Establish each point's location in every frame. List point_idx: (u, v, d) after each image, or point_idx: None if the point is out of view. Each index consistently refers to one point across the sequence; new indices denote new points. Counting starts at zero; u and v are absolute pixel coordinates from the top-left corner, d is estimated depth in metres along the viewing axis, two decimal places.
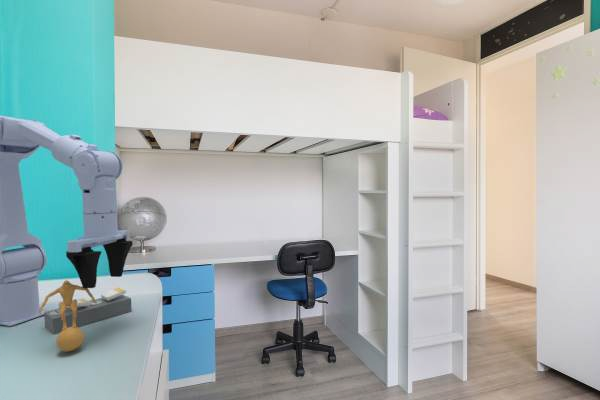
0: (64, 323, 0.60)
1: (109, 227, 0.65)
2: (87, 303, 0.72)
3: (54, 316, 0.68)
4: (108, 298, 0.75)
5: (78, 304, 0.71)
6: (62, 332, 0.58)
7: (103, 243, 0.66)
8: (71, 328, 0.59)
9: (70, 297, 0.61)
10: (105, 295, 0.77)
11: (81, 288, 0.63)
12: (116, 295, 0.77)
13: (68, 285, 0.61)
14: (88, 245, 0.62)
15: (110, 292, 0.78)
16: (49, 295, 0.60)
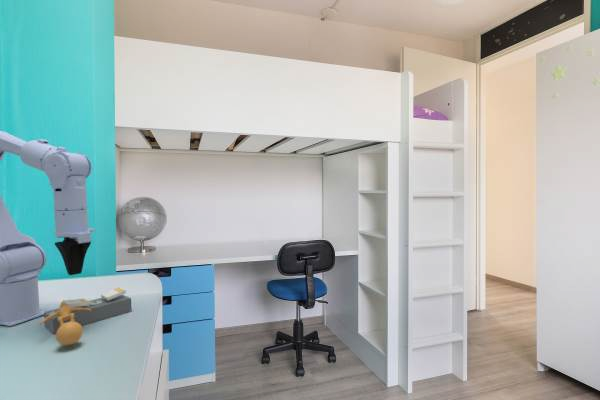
0: None
1: (87, 221, 0.73)
2: (87, 303, 0.72)
3: None
4: (108, 298, 0.75)
5: (78, 304, 0.71)
6: None
7: None
8: None
9: (67, 312, 0.66)
10: (105, 295, 0.77)
11: None
12: (116, 295, 0.77)
13: (65, 303, 0.68)
14: None
15: (110, 292, 0.78)
16: (48, 317, 0.65)
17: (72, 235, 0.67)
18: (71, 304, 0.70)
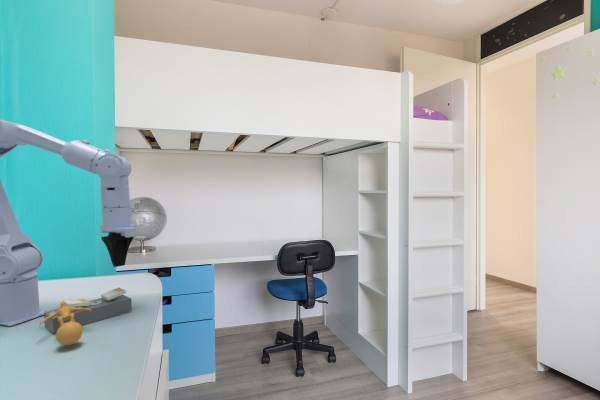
0: None
1: (130, 218, 0.79)
2: (87, 303, 0.72)
3: None
4: (108, 298, 0.75)
5: (78, 304, 0.71)
6: None
7: None
8: None
9: (67, 312, 0.66)
10: (105, 295, 0.77)
11: None
12: (116, 295, 0.77)
13: (65, 303, 0.68)
14: None
15: (110, 292, 0.78)
16: (48, 317, 0.65)
17: (119, 230, 0.74)
18: (71, 304, 0.70)
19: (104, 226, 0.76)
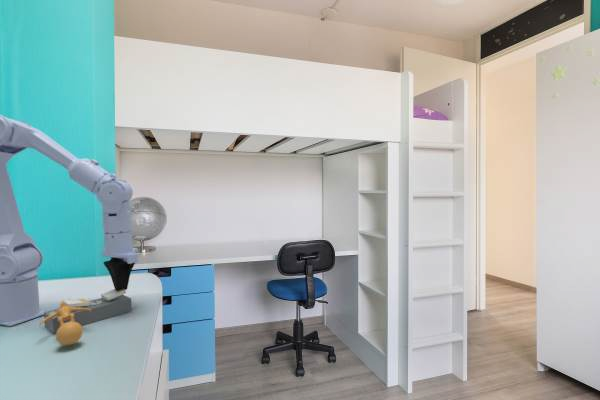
0: None
1: None
2: (87, 303, 0.72)
3: None
4: (108, 298, 0.75)
5: (78, 304, 0.71)
6: None
7: None
8: None
9: (67, 312, 0.66)
10: (105, 295, 0.77)
11: None
12: (116, 295, 0.77)
13: (65, 303, 0.68)
14: None
15: (110, 292, 0.78)
16: (48, 317, 0.65)
17: (122, 256, 0.74)
18: (71, 304, 0.70)
19: (106, 252, 0.76)
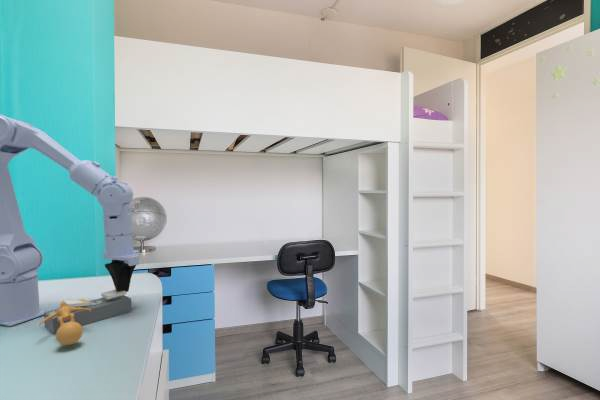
0: None
1: None
2: (87, 303, 0.72)
3: None
4: (108, 297, 0.75)
5: (78, 304, 0.71)
6: None
7: None
8: None
9: (67, 312, 0.66)
10: (105, 294, 0.77)
11: None
12: (116, 295, 0.77)
13: (65, 303, 0.68)
14: None
15: (110, 292, 0.78)
16: (48, 317, 0.65)
17: (123, 258, 0.75)
18: (71, 304, 0.70)
19: (107, 254, 0.76)
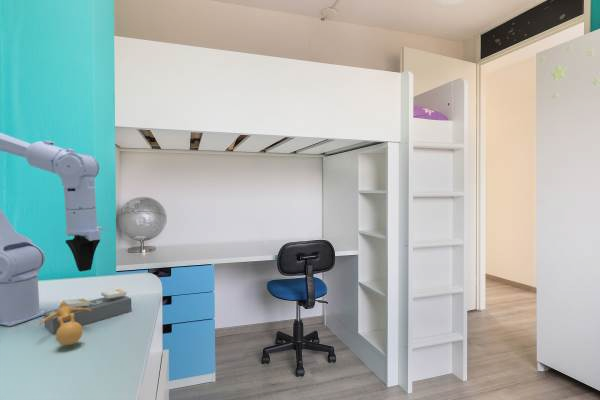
0: None
1: (96, 220, 0.76)
2: (87, 303, 0.72)
3: None
4: (108, 296, 0.75)
5: (78, 304, 0.71)
6: None
7: None
8: None
9: (67, 312, 0.66)
10: (106, 293, 0.77)
11: None
12: (116, 295, 0.77)
13: (65, 303, 0.68)
14: None
15: (111, 291, 0.78)
16: (48, 317, 0.65)
17: (83, 233, 0.70)
18: (71, 304, 0.70)
19: (67, 229, 0.72)
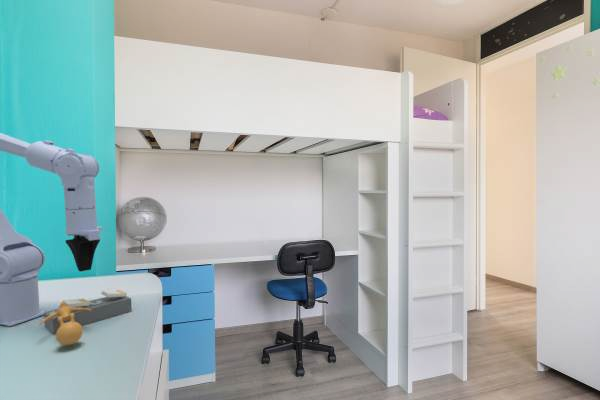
0: None
1: (96, 220, 0.76)
2: (87, 303, 0.72)
3: None
4: (109, 295, 0.75)
5: (78, 304, 0.71)
6: None
7: None
8: None
9: (67, 312, 0.66)
10: (106, 292, 0.77)
11: None
12: (117, 295, 0.77)
13: (65, 303, 0.68)
14: None
15: (111, 291, 0.78)
16: (48, 317, 0.65)
17: (82, 233, 0.70)
18: (71, 304, 0.70)
19: (67, 229, 0.72)
